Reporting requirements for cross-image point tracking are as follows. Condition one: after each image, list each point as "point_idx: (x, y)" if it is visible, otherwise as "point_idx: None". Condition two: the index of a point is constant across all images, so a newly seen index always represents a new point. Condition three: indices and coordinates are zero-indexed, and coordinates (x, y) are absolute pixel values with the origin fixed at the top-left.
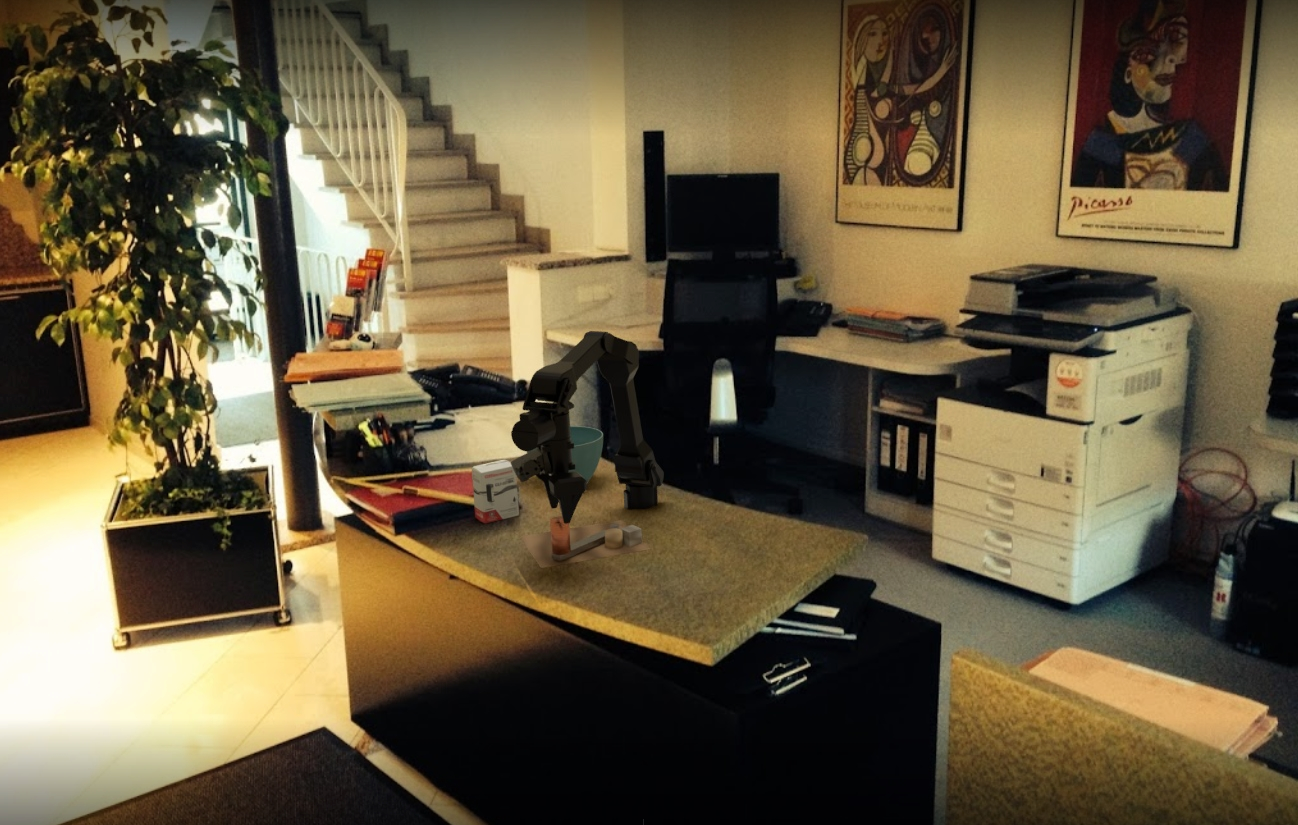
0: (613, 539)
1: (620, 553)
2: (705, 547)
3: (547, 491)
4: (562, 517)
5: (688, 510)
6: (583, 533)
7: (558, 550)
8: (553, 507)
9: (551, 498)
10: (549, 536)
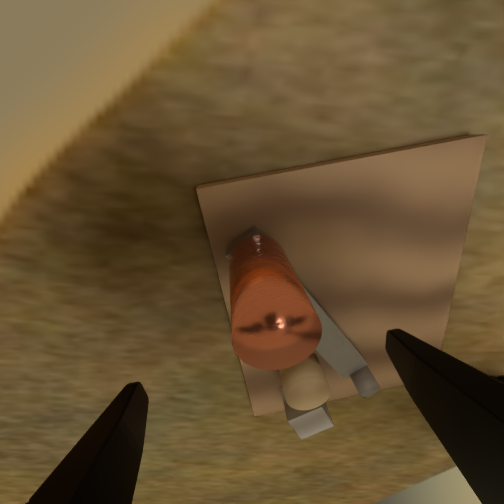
0: (283, 383)
1: (248, 372)
2: (260, 465)
3: (491, 417)
4: (117, 411)
5: (427, 450)
6: (403, 309)
7: (230, 260)
8: (388, 340)
9: (430, 380)
10: (432, 228)
